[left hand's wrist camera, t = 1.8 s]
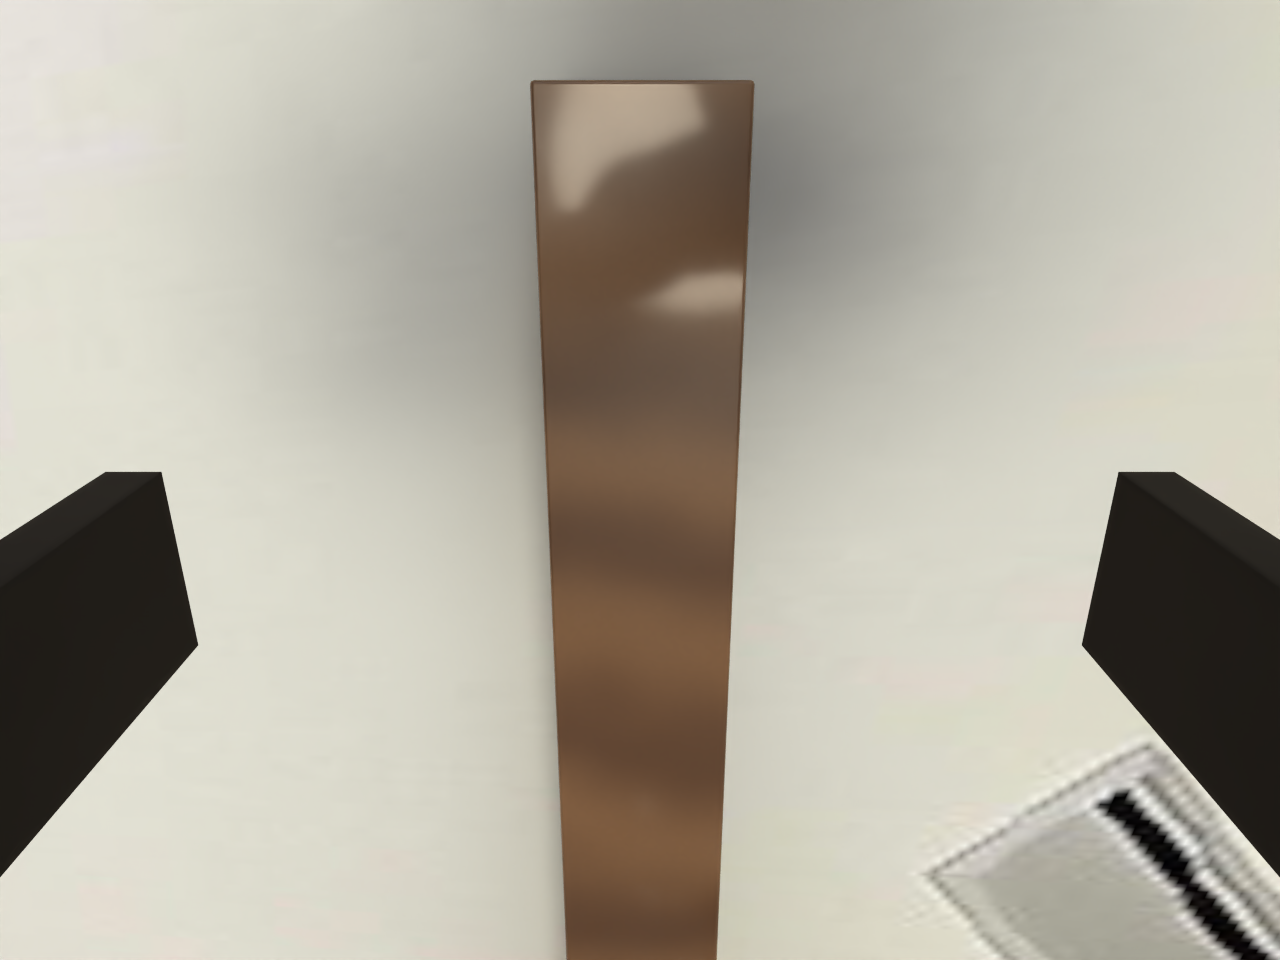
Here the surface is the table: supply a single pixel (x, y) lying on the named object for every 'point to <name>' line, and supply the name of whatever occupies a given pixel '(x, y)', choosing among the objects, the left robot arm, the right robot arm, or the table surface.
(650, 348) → the beam
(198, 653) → the table surface
